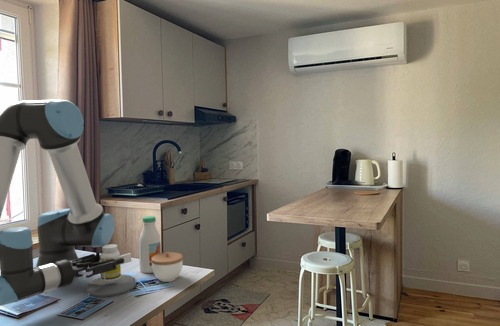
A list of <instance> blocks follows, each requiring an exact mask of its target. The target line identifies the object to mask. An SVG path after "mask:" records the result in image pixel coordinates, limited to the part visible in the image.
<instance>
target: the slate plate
mask: <svg viewBox="0 0 500 326" xmlns="http://www.w3.org/2000/svg"><path fill="white" fill-rule="evenodd" d="M136 283H137V280H136V277H134V276H132V275H127V274H121V277H120V279H118V280H116V281H112V282H104V281H102V280H101V277H98V278H96V279H93V280H92V281H90V282H89V283H88V284H87V285H86V292H87V294H88V295H89V296H92V297H96V298H107V297H115V296H120V295H123V294H126V293H128V292H130V291H132V290H133V289H134V288H135V287H136V285H137V284H136ZM131 289H132V290H131Z"/></svg>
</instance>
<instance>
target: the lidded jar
mask: <svg viewBox="0 0 500 326" xmlns="http://www.w3.org/2000/svg"><path fill="white" fill-rule="evenodd" d="M183 259H184V256H183V254H182V253H180V252H171V251H170V252H169V251H165V252H161V253H160V254H157V255H154V256H153V257H152V258H151V261H152V269H153V273H152V274H153V276H155V277H156V279H158V281H160V282H162V283H170V282H174V281H175V280H177V278H178V277H179V275H180V274H181V272H182V270H183V263H184V262H183V261H184V260H183Z"/></svg>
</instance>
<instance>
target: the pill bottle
mask: <svg viewBox="0 0 500 326" xmlns="http://www.w3.org/2000/svg"><path fill="white" fill-rule="evenodd" d="M101 249H102V250H101V251H102V253H100V254H101V255H100V262H101V261H106V260H111V259H112V258H114V257H118V256H121V253H120V251H119V252H118V251H117V250H119V249H118V244H116V243H112V244H111V243H110V244H109V243H107V244H106V245H104V246H102V248H101ZM121 273H122V271H121V265H118V266H116V269H115V270H111V271H108V272H104V273H101V274H100V278H101V280H102V281H104V282H112V281H116V280H118V279H120V277H121V275H122V274H121Z"/></svg>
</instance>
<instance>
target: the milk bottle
mask: <svg viewBox="0 0 500 326" xmlns="http://www.w3.org/2000/svg"><path fill="white" fill-rule="evenodd" d="M156 221H157V220H156V216H154V215H148V216H144V217H142V224H143V225H142V226H143V227H142V230H141V233H140V235H139V239H138V245H139V246H138V247H139V248H138V251H139V257H138V258H139V270H140V272H141V273H143V274H151V273H152V274H154V273H153V269H152V261H151V258H152V257H153V256H154V255H157V254H160V253H162V250H161V249H162V248H161V246H162V245H161V244H162V243H161V237H160V236H161V235H160V233H159V231H158V229H157V226H156Z"/></svg>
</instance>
